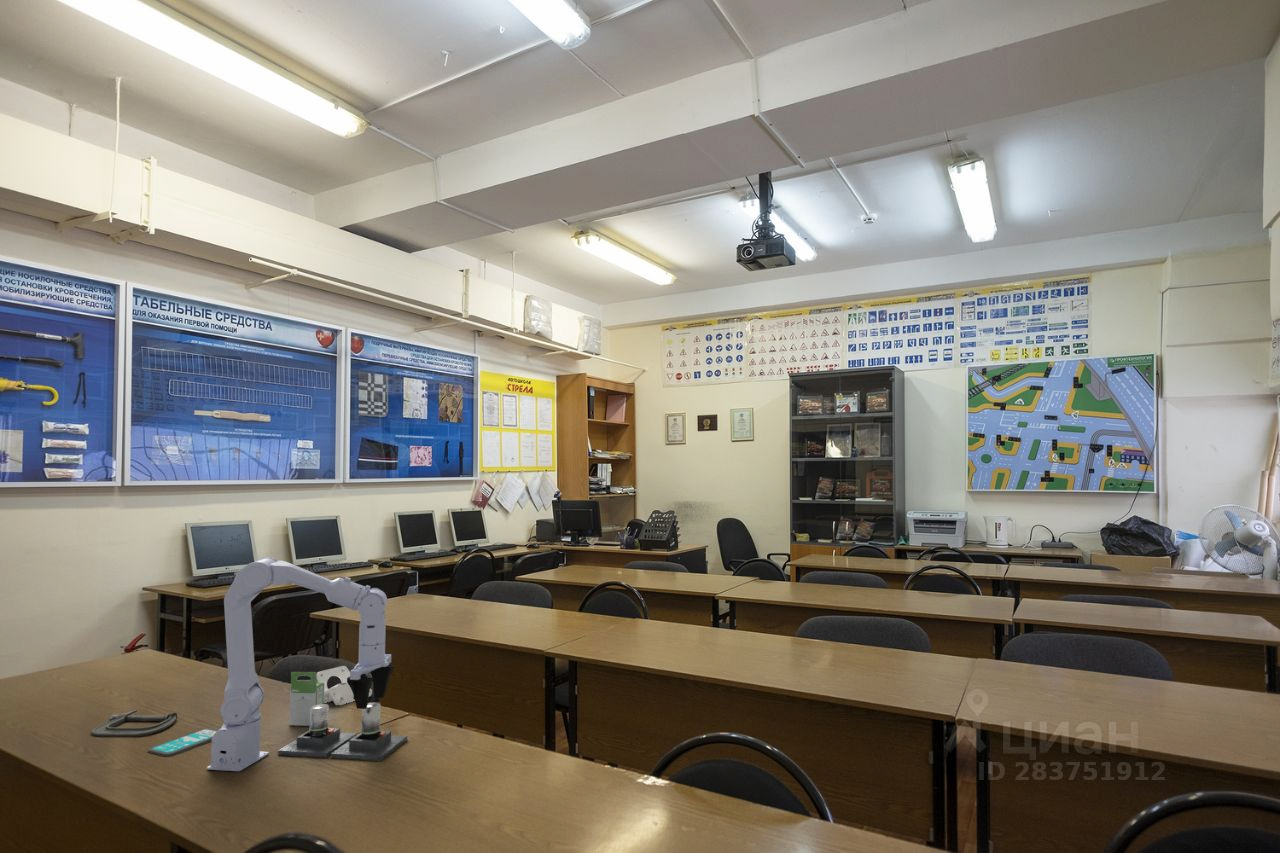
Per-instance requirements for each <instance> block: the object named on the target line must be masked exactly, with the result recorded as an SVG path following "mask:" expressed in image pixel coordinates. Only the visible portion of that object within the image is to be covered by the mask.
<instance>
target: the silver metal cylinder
mask: <svg viewBox="0 0 1280 853" xmlns="http://www.w3.org/2000/svg"><path fill="white" fill-rule="evenodd" d="M329 710H330V705H329V704H328V703H323V704H319V705H315V706H312V707H311V708H310V726H308V731H309V735H310V736H322V735H325V734H327V731H328V728H330V726H329V718H330V717H329V716H330V714H329V712H330V711H329Z"/></svg>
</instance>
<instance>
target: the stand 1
mask: <svg viewBox="0 0 1280 853" xmlns="http://www.w3.org/2000/svg"><path fill="white" fill-rule="evenodd" d="M356 735H358V733H357V732H342V731H341V728H340V727H329V728H328V731H327V734H325V735H322V736H310V735H309V730H307V731H306V732H304V733H302V734H300V735H298V736H297V737H296V739H294V740H293V741H291V742H290V743H289V744H286V745H284V746H283V747H282V748H280V749H278V750H277V755H278V756H290V757H308V758H322V759H327V758H329V757H331V753H333V752H334V751H335V750H337V749H338V748H340V747H341V746H343V745H344V744H346V743H347V742H349V740H350V739H352V738H353V737H355V736H356Z"/></svg>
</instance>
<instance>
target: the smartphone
mask: <svg viewBox="0 0 1280 853" xmlns="http://www.w3.org/2000/svg"><path fill="white" fill-rule="evenodd" d="M220 729H221V728H214V727H206V728H203V729H200V730H197V731H194V732H191V733H189V734H186V735H183V736H180V737H177V738H175V739H172V740H167V741H166V742H163V743H160V744H158V745H154V746H151V747H149V748H147V753H150V754H154V755H158V756H162V757H172V756H176V755H178V754H181V753H183V752H186V751H187V752H188V751H189V750H192V749H194V748H197V747H200V746H202V745H205V744H208V743H210V742H212V738H213V736H214V734H215V733H216V732H217V731H218V730H220Z"/></svg>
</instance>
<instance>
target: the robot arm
mask: <svg viewBox="0 0 1280 853" xmlns="http://www.w3.org/2000/svg"><path fill="white" fill-rule="evenodd" d="M285 584H293V585H296V586H299V587H302V588H305V589H308V590H312V591H315V592H318V593H321V594H324V595H325V597H326V599H327V601H328V602H330V603H332V604H336V605H338V606H341V607H343V608H347V609H349V610H352V611H357V612H358V613H359V614H360V615H359V616H360V618H359V619H360V622H359V625H358V626H359V630H358V634H359V635H358V662H357V664H355V666H354V668H353V669H351V670H349V672H350V677H348V678H347V683H348V684H349V686H350V688H351V690H352V692H353V695H354V697H353V699H354V700H355V701H354V703H355V707H356V709H358V710H359V709H361V710H362V709H366V708H367V705H368V703H369V691H370V689H371V687H373V688H372V689H373V695H374V698H375V699H377V698H378V699H383V698H384V697H385V695H386V692H387V687H388V685H389V681H390V678H391V676H392V673H393V672H394V670H395V664H393V663H392V654H391V653H390V654H388V653H387V654H386V629H387V628H386V626H387V625H386V623H387V622H386V611H385V608H386V606H387V604H388V597H387V595H386V592H384V591H383V590H381V589H380V588H378V587H372V588H371V585H368V584H367V585H365V586H364V585H362V584H359V583H356V582H354V581H352V578H351V577H348V576H345V577H344V578H343V577H337V578H335V579H329V578H326V577H325V576H322V575H319V574H317V573H315V572H312V571H310V570H307V569H306V568H302V567H301V566H298V565H295V564H293V563H290V562H288V561H285V560H280V559H279V560H277V559H276V558H274V557H263V558H260V559H258V560H256V561H254V562H250V563H248V564H246V565H245V566H244V567H242V569H240V570H239V571H238V572H237V573H236V574H235V578H234V580H233V582H232V583H231V584H230V587H229V588H228V590H227V591H226V593H225V595H224V598H223V606H224V607H223V608H224V622H225V623H224V624H225V641H226V658H227V673H228V674H227V675H228V676H227V677H228V680H227V683H226V685H225V688H224V690H223V691H224V699H223V701H222V704H221V706H220V716H221V718H222V719H223V724H222V726H221V727H220V728H219V729H220V730H218V731H217V732H216V733H215V734H214V736H213V738H212V741H211V745H210V747H211V748H210V765H208V766H206V770H212V771H213V770H214V771H228V772H230V771H231V772H241V771H243V770H245V769H246V768H248V767H250V766H251V765H253V764H254V763H257V762H258V761H259V760H261V759H263V758H265V757H266V756H268V755H269V754H270V752H269V751H263V750H262V751H261V731H262V730H261V728H262V726H261V724H262V713H261V712H260V709H259V708H260V706H261V705H262V704H263V702H264V699H265V691H264V688H263V687H262V686H261V684H260V680H259V678H260V677H259V675H258V674H257V672H256V667H255V652H254V637H253V636H254V634H253V618H252V616H253V615H252V603H251V602H252V601H254V599H255V598H256V597H257V596H258V595H260V593H262V591H263V590H264V589H265V588H268V587H270V586H271V585H272V586H273V587H275V586H280V585H285ZM391 663H392V664H391ZM369 673H370V675H371V677H368V676H367V674H369ZM372 685H373V686H372Z"/></svg>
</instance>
